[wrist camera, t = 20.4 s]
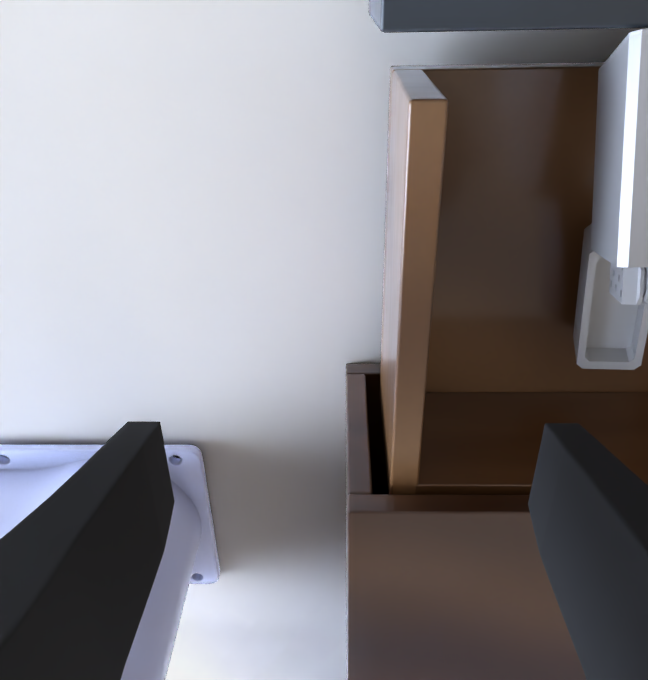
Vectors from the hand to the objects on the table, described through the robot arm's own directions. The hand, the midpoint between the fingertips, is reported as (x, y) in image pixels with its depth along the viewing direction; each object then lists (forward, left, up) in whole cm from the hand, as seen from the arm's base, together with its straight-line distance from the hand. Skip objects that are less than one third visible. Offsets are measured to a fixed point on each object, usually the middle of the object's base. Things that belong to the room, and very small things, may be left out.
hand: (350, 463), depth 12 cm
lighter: (+7, +6, -7) cm, 11 cm away
